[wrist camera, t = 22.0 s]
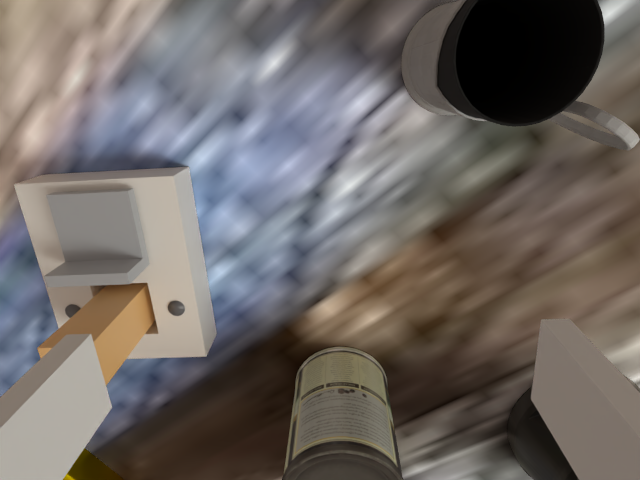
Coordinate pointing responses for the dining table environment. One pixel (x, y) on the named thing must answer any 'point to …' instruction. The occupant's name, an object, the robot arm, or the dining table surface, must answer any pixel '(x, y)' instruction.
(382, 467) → the coffee can
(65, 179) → the socket plate
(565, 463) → the robot arm
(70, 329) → the plug
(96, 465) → the element tile
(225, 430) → the dining table surface
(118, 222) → the shutter
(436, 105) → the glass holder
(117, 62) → the dining table surface
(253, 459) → the dining table surface
